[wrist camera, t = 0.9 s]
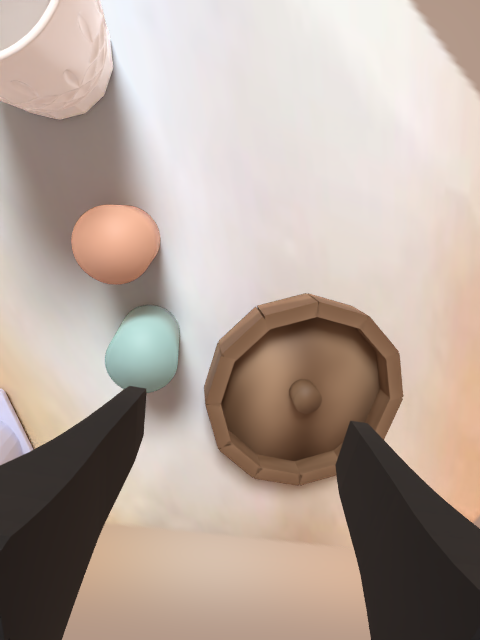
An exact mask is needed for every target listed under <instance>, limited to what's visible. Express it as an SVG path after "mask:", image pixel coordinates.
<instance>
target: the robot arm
mask: <svg viewBox="0 0 480 640" xmlns="http://www.w3.org/2000/svg"><path fill="white" fill-rule="evenodd" d="M146 389H147V388H140V387H134V386H128V387H127V388H125V389H124V390H123V391H121V392H120V393H119V394H117V395H116V396H115V397H114V398H112V399H111V400H110V401H108V402H107V403H106V404H105V405H103V406H102V407H101V408H99V409H98V410H96V411H95V412H94V413H92V414H91V415H90V416H88V417H87V418H85V419H84V420H83V421H81V422H79V423H78V424H76V425H75V426H73V427H72V428H70V429H69V430H67V431H66V432H64V433H63V434H61V435H59V436H58V437H56V438H54V439H53V440H51V441H49V442H47V443H45V444H43V445H42V446H40V447H38V448H36V449H34V450H33V448H32V446H31V444H30V441H29V439H28V437H27V435H26V433H25V431H24V429H23V427H22V425H21V423H20V421H19V419H18V417H17V415H16V413H15V411H14V409H13V407H12V405H11V403H10V401H9V399H8V397H7V395H6V393H5V391H4V390H2V389H0V640H62V637H63V634H64V631H65V629H66V626H67V623H68V620H69V617H70V614H71V611H72V608H73V605H74V603H75V600H76V597H77V594H78V592H79V589H80V586H81V583H82V581H83V578H84V575H85V572H86V569H87V567H88V564H89V561H90V559H91V556H92V553H93V550H94V548H95V546H96V543H97V540H98V537H99V535H100V533H101V530H102V528H103V526H104V524H105V521H106V519H107V517H108V515H109V513H110V511H111V509H112V507H113V505H114V503H115V501H116V499H117V497H118V495H119V493H120V491H121V489H122V487H123V485H124V483H125V480H126V478H127V476H128V474H129V472H130V470H131V468H132V466H133V464H134V462H135V459H136V456H137V453H138V450H139V447H140V444H141V441H142V438H143V435H144V420H145V405H146ZM335 466H336V474H337V482H338V489H339V495H340V499H341V502H342V506H343V510H344V514H345V517H346V521H347V525H348V528H349V532H350V536H351V539H352V543H353V547H354V550H355V554H356V558H357V562H358V566H359V570H360V574H361V580H362V586H363V592H364V597H365V603H366V609H367V616H368V622H369V629H370V635H371V640H480V529H479V528H478V527H477V526H476V525H474V524H473V523H472V522H470V521H469V520H468V519H467V518H465V517H464V516H463V515H462V514H460V513H459V512H458V511H457V510H456V509H454V508H453V507H452V506H451V505H450V504H448V503H447V502H446V501H445V500H444V499H443V498H441V497H440V496H439V495H438V494H437V493H436V492H435V491H434V490H433V489H432V488H431V487H429V486H428V485H427V484H426V483H425V482H424V481H423V480H422V479H421V478H420V477H419V476H418V475H417V474H416V473H415V472H414V471H413V470H412V469H411V468H410V467H409V466H408V465H407V464H406V463H405V462H404V461H403V460H402V459H401V458H400V457H399V456H398V455H397V454H396V453H395V451H394V450H393V449H392V448H391V447H390V446H389V445H388V444H387V443H386V442H385V441H384V440H383V439H382V438H381V437H380V435H379V434H378V433H377V432H376V431H375V430H374V429H373V428H372V427H371V426H370V425H369V424H368V423H363V422H356V421H350V423H349V426H348V429H347V432H346V435H345V438H344V441H343V444H342V447H341V450H340V453H339V456H338V459H337V462H336V465H335Z"/></svg>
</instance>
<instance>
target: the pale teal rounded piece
mask: <svg viewBox="0 0 480 640" xmlns="http://www.w3.org/2000/svg"><path fill="white" fill-rule="evenodd" d="M179 336H180V330H179V325H178V322H177V321H176V319H175V317H174V316H173V315H172V314H171V313H170V312H169V311H167V310H166V309H164V308H162V307H159V306H155V305H144V306H140V307H137V308H135V309H133V310H132V311H131V312H129V313H128V314H127V316H126V317H125V318H124V320H123V322H122V323H121V325H120V327H119V329H118V330H117V332H116V334H115V336H114V337H113V339H112V341H111V343H110V344H109V346H108V348H107V351H106V355H105V365H106V369H107V372H108V374H109V376H110V377H111V379H112V380H113V381H114V382H115V383H116V384H117V385H118V386H120V387H121V388H123V389H125V388H127V387H128V386H134V387H140V388H147V389H146V393H150V392H154V391H157V390H159V389H161V388H163V387H164V386H166V385H167V384H168V383H169V382H170V381H171V380H172V378H173V377H174V375H175V373H176V370H177V366H178V352H179Z"/></svg>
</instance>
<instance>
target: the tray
mask: <svg viewBox="0 0 480 640" xmlns="http://www.w3.org/2000/svg"><path fill="white" fill-rule="evenodd" d="M398 352H399V351H398V350H397V349H396V348H395V346H394V345H393V344H392V343H391V342H390V340H389V339H388V338H387V337H386V336H385V334H384V333H383V332H382V331H381V330H380V328H379V327H378V326H377V325H376V324H375V322H374V321H373V320H372V319H371V317H369V316H368V315H366V314H365V313H363V312H361V311H359V310H358V309H356V308H354V307H353V306H350V305H346V304H343V303H340V302H336V301H333V300H329V299H326V298H322V297H319V296H315V295H312V294H306V293H305V294H301V295H297V296H294V297H290V298H286V299H282V300H278V301H274V302H270V303H266V304H262V305H258V309H257V308H256V307H255V308H254V309H253V310H251V311H250V312H249V313H248V314H247V315H246V316H245V317H244V318H243V319H242V320H241V321H240V322H239V323H237V324H236V325H235V326H234V327H233V328H232V329H231V330H230V331H229V332H228V333H227V334H226V335H225V336H224V337H222V338H221V339H220V340H219V343H217V347H216V350H215V353H214V356H213V360H212V363H211V366H210V369H209V373H208V376H207V379H206V382H205V385H204V392H205V404H206V408H207V412H208V415H209V419H210V422H211V426H212V429H213V432H214V436H215V439H216V443H217V446H218V449H219V450H220V451H221V452H222V453H223V454H224V455H226V456H227V457H228V458H229V459H231V460H232V461H233V462H234V463H235V464H237V465H238V466H239V467H240V468H242V469H243V470H244V471H245V472H246V473H248V474H249V475H250V476H251V477H252V478H253V477H254V478H255V479H261V480H267V481H273V482H280V483H286V484H292V485H299V484H300V485H304V484H307V483H311V482H314V481H317V480H321V479H324V478H328V477H331V476H335V475H337V474H336V466H335V465H336V462H337V459H338V456H339V453H340V450H341V447H342V444H343V441H344V438H345V435H346V432H347V429H348V426H349V423H350V421H356V422H363V423H368V424H369V425H370V426H371V427H372V428H373V429H374V430H375V431H376V432H377V433H378V434H379V435H380V437H381V438H382V439H383V440H384V438H385V436H386V434H387V432H388V430H389V428H390V426H391V423H392V421H393V419H394V417H395V415H396V413H397V410H398V408H399V406H400V404H401V402H402V400H403V399H402V397H403V389H402V377H401V366H400V355H399V353H398Z"/></svg>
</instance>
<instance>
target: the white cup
mask: <svg viewBox="0 0 480 640" xmlns="http://www.w3.org/2000/svg"><path fill="white" fill-rule="evenodd" d="M112 70H113V59H112V50H111V41H110V34H109V31H108V28H107V26H106V23H105V18H104V13H103V9H102V6H101V2H100V0H0V101H3V102H5V103H7V104H10V105H13V106H15V107H18V108H21V109H24V110H26V111H27V112H30V113H33V114H37V115H41V116H46V117H50V118H54V119H58V120H60V119H64V118H69V117H73V116H77V115H81V114H85V113H86V112H87V111H88V110H89V109H90V108H91V107H93V106H94V105H95V104H96V103H97V102H98V101H99V100H100V99H101V98H102V97H103V96H104V95H105V92H106V89H107V86H108V83H109V79H110V76H111V73H112Z"/></svg>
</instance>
